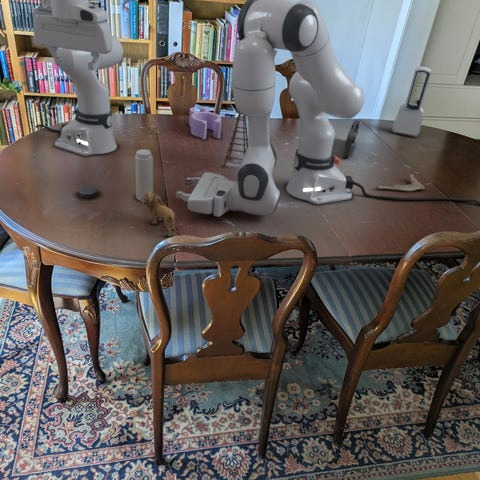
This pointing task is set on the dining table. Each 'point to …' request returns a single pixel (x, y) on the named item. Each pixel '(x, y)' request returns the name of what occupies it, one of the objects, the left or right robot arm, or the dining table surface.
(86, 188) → the lid
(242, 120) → the miniature windmill
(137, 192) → the jar
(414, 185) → the jawbone
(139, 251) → the dining table surface
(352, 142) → the handheld gaming console
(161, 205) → the lion figurine
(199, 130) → the clip
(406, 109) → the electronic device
